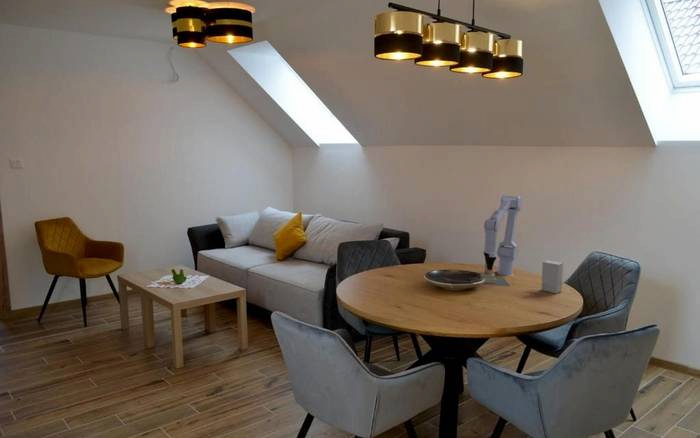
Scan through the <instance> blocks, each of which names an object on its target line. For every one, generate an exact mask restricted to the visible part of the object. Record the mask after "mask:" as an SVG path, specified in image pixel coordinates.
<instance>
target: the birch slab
mask: <svg viewBox="0 0 700 438" xmlns="http://www.w3.org/2000/svg"><path fill="white" fill-rule="evenodd" d="M480 276H481V274H480V275H479V277H480ZM481 278H482V279H483V277H482V276H481ZM496 278H497V277H495V279H485V282H484V283H496Z"/></svg>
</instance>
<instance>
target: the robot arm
mask: <svg viewBox="0 0 700 438" xmlns="http://www.w3.org/2000/svg"><path fill="white" fill-rule="evenodd" d="M522 203H523V200H522V197H521V196H520V195H518V196H517V195H508V194H503V195H502V196H501V197H500V205H499V207H498V209H495V210H494V212H493V213H492V214H491V216H490V217H489V218H487V219H485V221H484V224H483V226H484V233H485V238H484V239H485V240H484V250H483V255H484V261H485V264H486V263H487V269H488V270H492V268H493V264H494V263H495V261H497V257H498V259H499V261H498V269H497V270H496V273H497V274H498V275H499V276H515V274H514V273H513V272H514V271H513V270H514V260H515V259H517V257H518V245H517V244H516V243H515V242H514V239H515V233H516V232H515V231H516V226H517V225H516V224H517V217H518V213H519V212H521V210H522ZM506 212H507V216H506V217H507V219H506V225H505V231H504V239H503V240H502V241H501V242H500V243H498V248H497V242H498V239H497V238H498V231H499V230H500V228H501V227H500V226H501V223H502V221H503V220H504V218H505V213H506ZM495 254H497V255H496V256H497V257H496V256H494V255H495ZM493 269H494V268H493Z"/></svg>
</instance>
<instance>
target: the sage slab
mask: <svg viewBox="0 0 700 438" xmlns="http://www.w3.org/2000/svg"><path fill="white" fill-rule="evenodd" d="M480 275H481V276H482V277H483V279H495V278H496V275H495V273H494V272H493V275H487V274H484V271H481V274H480Z"/></svg>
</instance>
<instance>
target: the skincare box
mask: <svg viewBox="0 0 700 438" xmlns="http://www.w3.org/2000/svg"><path fill="white" fill-rule="evenodd" d="M541 268H542V271H541V291H542V290H543V291H542V292H547V291H548V292H547V293H552V294H556V293H557V294H560V293H562V292H563V291H562V290H563V270H564V269H563V268H564V263H563V262H560V261H554V260H545V261H542V267H541ZM559 292H560V293H559Z"/></svg>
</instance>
